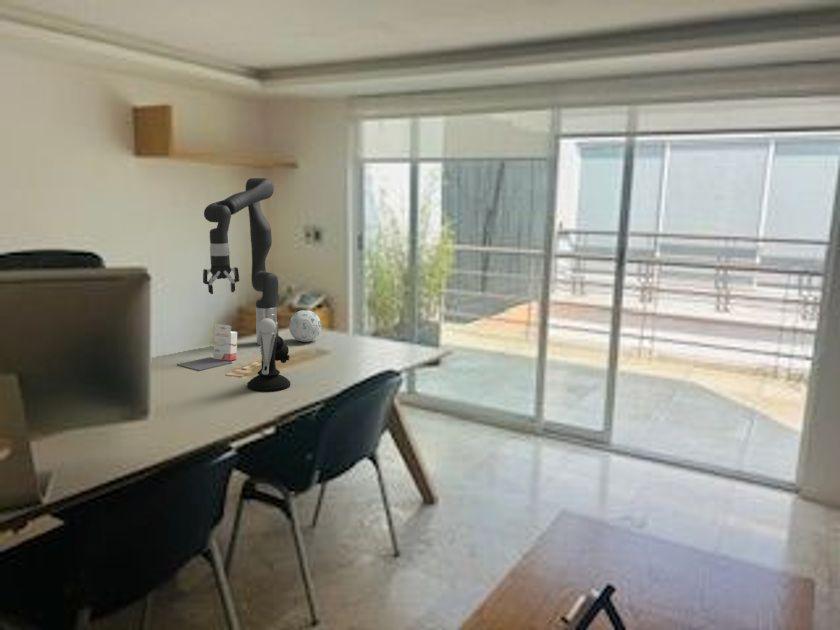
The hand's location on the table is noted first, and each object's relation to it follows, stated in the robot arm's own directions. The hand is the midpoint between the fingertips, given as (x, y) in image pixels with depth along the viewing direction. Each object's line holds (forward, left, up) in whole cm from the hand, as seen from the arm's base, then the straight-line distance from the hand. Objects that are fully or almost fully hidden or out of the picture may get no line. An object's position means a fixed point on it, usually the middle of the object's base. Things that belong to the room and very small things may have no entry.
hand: (222, 293), depth 273 cm
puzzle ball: (-45, +3, -28) cm, 53 cm away
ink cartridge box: (+2, +3, -28) cm, 28 cm away
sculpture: (+13, +44, -28) cm, 54 cm away
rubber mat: (+12, +3, -28) cm, 30 cm away
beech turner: (+8, +23, -28) cm, 37 cm away
